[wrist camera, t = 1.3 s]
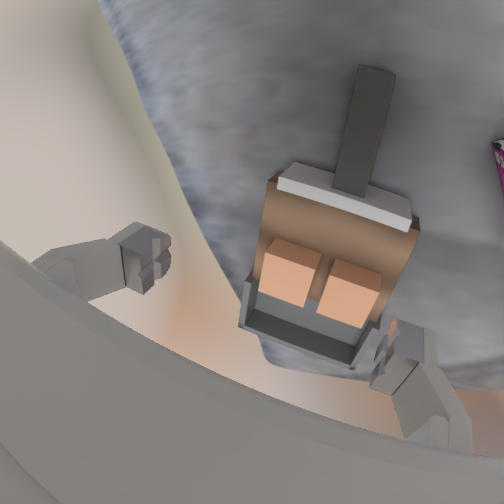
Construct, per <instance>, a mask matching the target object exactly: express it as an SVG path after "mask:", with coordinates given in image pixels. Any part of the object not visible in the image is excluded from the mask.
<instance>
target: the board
mask: <svg viewBox="0 0 504 504" xmlns="http://www.w3.org/2000/svg"><path fill="white" fill-rule="evenodd" d="M281 174H282V172H277V173H276V174H275V175H274V176H273V177H272V178H270V179H269V180H268V184H267V190H266V196H265V202H264V208H263V214H262V221H261V227H260V233H259V239H258V245H257V251H256V257H255V263H254V270H253V276H252V278H255V279H257V280H260V278H261V273H262V267H263V262H264V256H265V252H266V251H267V249H268V248H269V246H270V245H271V244H272V242H273V241H274V239H275V238H279V239H282V240H285V241H288V242H291V243H293V244H296V245H299V246H302V247H305V248H308V249H311V250H314V251H317V252H319V253H322V256H321V260H320V263H319V266H318V269H317V272H316V275H315V279H314V282H313V285H312V288H311V291H310V293H309V295H308V298H309V299H312V300H314V301H317V302H320V300H321V297H322V295H323V292H324V289H325V286H326V284H327V281H328V278H329V275H330V272H331V269H332V267H333V264H334V261H335V258H337V259H339V260H342V261H345V262H348V263H351V264H354V265H356V266H359V267H362V268H365V269H368V270H371V271H373V272H376V273H379V274H382V277H381V285H380V293H379V295H378V297H377V299H376V301H375V303H374V305H373V307H372V309H371V311H370V313H369V315H368V317H367V320H370V321H373V322H376V321H377V320H378V318H379V316H380V314H381V312H382V310H383V308H384V307H385V305H386V303H387V301H388V299H389V297H390V295H391V293H392V291H393V289H394V287H395V285H396V283H397V281H398V279H399V277H400V275H401V273H402V271H403V269H404V267H405V265H406V262H407V260H408V258H409V256H410V254H411V252H412V249H413V247H414V245H415V243H416V240H417V238H418V236H419V233H420V225H419V218H417V217H415V216H412V222H411V225H410V227H409V230H408V232H404V231H401V230H399V229H396V228H393V227H391V226H388V225H385V224H382V223H380V222H377V221H374V220H371V219H368V218H365V217H362V216H360V215H357V214H354V213H351V212H348V211H345V210H342V209H339V208H336V207H333V206H330V205H327V204H324V203H321V202H318V201H314V200H311V199H308V198H305V197H302V196H298V195H295V194H292V193H289V192H285V191H282V190H279V189H277V185H278V179H279V176H280V175H281Z"/></svg>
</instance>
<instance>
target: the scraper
mask: <svg viewBox="0 0 504 504" xmlns="http://www.w3.org/2000/svg"><path fill="white" fill-rule="evenodd" d="M395 78H396V75H395V74H392V73H388V72H385V71H382V70H378V69H375V68H371V67H368V66H364V65H360V64H359V66H358V71H357V76H356V81H355V86H354V91H353V96H352V101H351V105H350V110H349V115H348V119H347V124H346V128H345V132H344V137H343V141H342V145H341V150H340V154H339V158H338V162H337V166H336V170H335V174H334V173H331V172H328V171H325V170H321V169H318V168H315V167H311V166H308V165H304V164H301V163H297V162H294V163H293V164H292V165H291V166H290V167H289V168H288V169H286V170H285V171H284V172H283V173H282V174H281V175H280V176H279V179H278V185H277V189H279V190H282V191H285V192H289V193H292V194H295V195H298V196H302V197H305V198H308V199H311V200H314V201H318V202H321V203H324V204H327V205H330V206H333V207H336V208H339V209H342V210H345V211H348V212H351V213H354V214H357V215H360V216H362V217H365V218H368V219H371V220H374V221H377V222H380V223H382V224H385V225H388V226H391V227H393V228H396V229H399V230H401V231H404V232H408V230H409V227H410V225H411V222H412V214H411V204H410V199H408V198H405V197H402V196H400V195H397V194H394V193H391V192H388V191H386V190H383V189H380V188H377V187H374V186H371V185H368V183H369V180H370V177H371V173H372V170H373V166H374V163H375V159H376V156H377V152H378V148H379V145H380V141H381V137H382V133H383V129H384V125H385V121H386V117H387V113H388V109H389V105H390V101H391V96H392V92H393V88H394V83H395Z"/></svg>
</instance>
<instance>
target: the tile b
mask: <svg viewBox="0 0 504 504" xmlns="http://www.w3.org/2000/svg"><path fill="white" fill-rule="evenodd" d="M381 277H382V274H379V273H376V272H373V271H371V270H368V269H365V268H362V267H359V266H356V265H354V264H351V263H348V262H345V261H342V260H339V259H337V258H335V261H334V264H333V267H332V269H331V272H330V275H329V278H328V281H327V284H326V286H325V289H324V292H323V295H322V297H321V300H320V303H319V306H318V308H317V311H316V313H319V314H321V315H324V316H327V317H330V318H332V319H335V320H338V321H341V322H344V323H346V324H349V325H352V326H355V327H358V328H362V326H363V324H364V322H365V321H366V319H367V317H368V315H369V313H370V311H371V309H372V307H373V305H374V303H375V301H376V299H377V297H378V295H379V293H380V285H381Z"/></svg>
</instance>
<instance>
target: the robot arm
mask: <svg viewBox="0 0 504 504" xmlns="http://www.w3.org/2000/svg"><path fill="white" fill-rule="evenodd" d="M170 246H171V237H170V236H169V235H168V234H166V233H164V232H161V231H159V230H157V229H154V228H152V227H149V226H146V225H144V224H141V223H139V222H134V223H132V224H130V225H129V226H127V227H126V228H124V229H123V230H121V231H120V232H118V233H117V234H115V235H114V236H112V237H111V238H109V239H108V240H106V239H100V240H95V241H90V242H84V243H80V244H74V245H70V246H65V247H60V248H55V249H51V250H50V251H48V252H47V253H45V254H44V255H42V256H41V257H39V258H38V259H36V260H35V261H33V262H32V263H31V264H30V263H29V262H28V261H26V260H25V259H24V258H22V257H21V256H20V255H18V254H17V253H16V252H14V251H13V250H12V249H11V248H9V247H8V246H7V245H5V244H4V243H3V242H2V241H0V504H504V458H496V457H489V456H482V455H475V454H472V431H473V430H472V428H473V427H472V422H471V420H470V418H469V416H468V414H467V412H466V411H465V409H464V407H463V406H462V404H461V402H460V400H459V398H458V397H457V395H456V393H455V391H454V390H453V388H452V386H451V384H450V383H449V381H448V379H447V378H446V376H445V374H444V373H443V371H442V370H441V369H439V368H438V356H437V335H436V332H435V331H433V330H430V329H426V328H423V327H419V326H416V325H413V324H410V323H407V322H404V321H402V320H399V319H396V318H395V319H394V320H393V321H392V323H391V325H390V326H389V333H388V334H387V335H385V336H383V338H382V340H381V342H380V344H379V346H378V348H377V351H376V354H375V358H374V364H375V366H376V367H375V369H374V370H373V372H372V374H371V380H370V385H369V388H370V389H373V390H376V391H379V392H381V393H384V394H387V395H390V396H391V398H392V401H393V404H394V407H395V410H396V413H397V416H398V419H399V422H400V425H401V428H402V431H403V435H404V438H405V440H402V439H398V438H394V437H391V436H386V435H383V434H379V433H376V432H372V431H369V430H366V429H362V428H359V427H356V426H352V425H349V424H346V423H343V422H340V421H337V420H334V419H331V418H328V417H325V416H322V415H319V414H316V413H313V412H310V411H308V410H305V409H302V408H300V407H297V406H294V405H291V404H289V403H286V402H284V401H281V400H279V399H276V398H273V397H271V396H269V395H266V394H264V393H261V392H258V391H256V390H254V389H252V388H249V387H247V386H245V385H242V384H240V383H238V382H236V381H233V380H231V379H229V378H227V377H224V376H222V375H220V374H218V373H216V372H214V371H211V370H209V369H207V368H205V367H203V366H201V365H199V364H197V363H195V362H193V361H191V360H189V359H187V358H185V357H183V356H181V355H179V354H177V353H175V352H173V351H171V350H169V349H167V348H165V347H163V346H161V345H160V344H158V343H156V342H154V341H152V340H150V339H149V338H147V337H145V336H143V335H141V334H140V333H138V332H136V331H134V330H132V329H131V328H129V327H127V326H126V325H124V324H122V323H120V322H119V321H117V320H115V319H113V318H112V317H110V316H109V315H107V314H105V313H104V312H102V311H100V310H99V309H97V308H96V307H94V306H92V305H91V304H89V303H88V301H91V300H93V299H96V298H99V297H101V296H104V295H107V294H109V293H112V292H114V291H117V290H120V289H123V288H125V286H126V287H128V288H130V289H132V290H134V291H136V292H138V293H140V294H143V295H144V294H145V293H146V292H147V291H148V290H149V289H150V288H151V287H152V286H153V285H154V280H156V279H160V278H162V277H163V276H164V275H165V274H166V273H167V271H168V269H169V267H170V264H171V254H170V252H169V250H168V248H169V247H170Z"/></svg>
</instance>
